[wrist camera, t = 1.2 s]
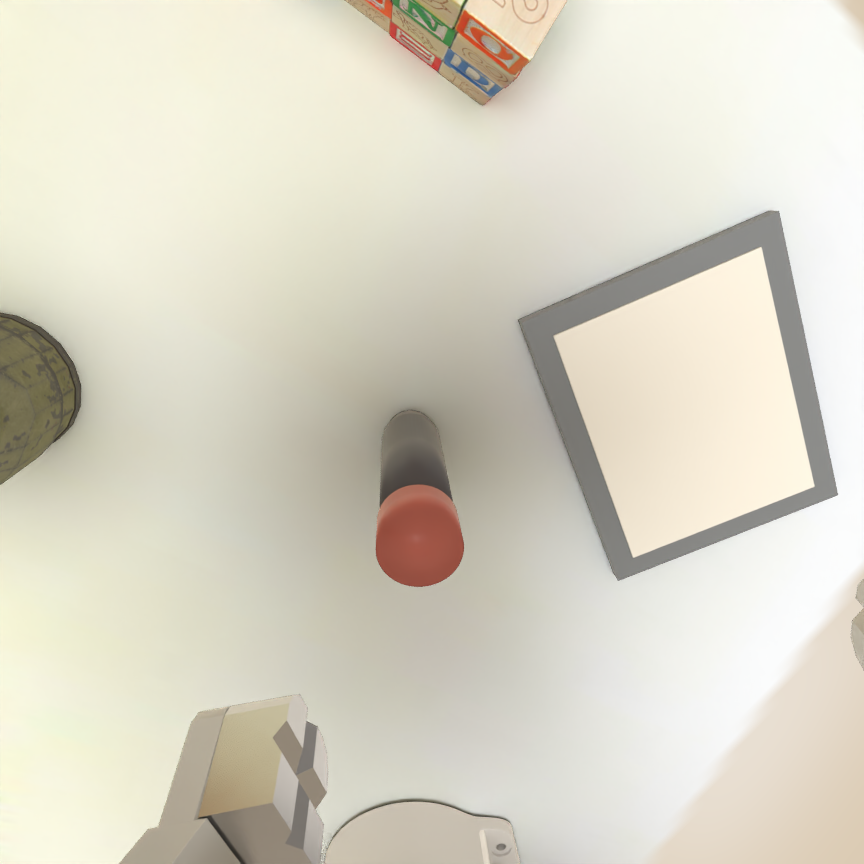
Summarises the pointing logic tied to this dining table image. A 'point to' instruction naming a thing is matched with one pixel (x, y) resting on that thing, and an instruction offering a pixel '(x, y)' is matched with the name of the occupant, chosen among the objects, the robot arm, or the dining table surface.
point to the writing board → (687, 396)
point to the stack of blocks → (468, 36)
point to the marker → (416, 505)
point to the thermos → (32, 393)
